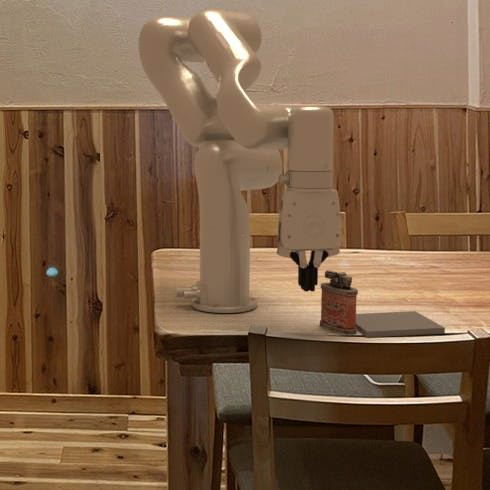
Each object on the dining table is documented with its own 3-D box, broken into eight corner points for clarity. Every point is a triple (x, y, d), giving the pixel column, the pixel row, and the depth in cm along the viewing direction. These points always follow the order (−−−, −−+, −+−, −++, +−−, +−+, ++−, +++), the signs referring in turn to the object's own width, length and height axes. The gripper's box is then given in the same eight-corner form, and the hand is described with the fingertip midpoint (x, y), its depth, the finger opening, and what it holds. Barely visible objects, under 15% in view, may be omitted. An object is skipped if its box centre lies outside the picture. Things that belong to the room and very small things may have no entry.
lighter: (361, 333, 136) (363, 275, 134) (346, 335, 134) (348, 277, 132) (329, 322, 142) (331, 267, 141) (315, 325, 140) (316, 269, 139)
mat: (366, 337, 133) (367, 331, 133) (342, 319, 144) (342, 314, 144) (444, 333, 136) (444, 327, 136) (414, 316, 147) (415, 311, 147)
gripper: (271, 183, 128) (270, 296, 130) (360, 182, 131) (357, 292, 133) (260, 180, 135) (259, 287, 138) (345, 179, 138) (342, 284, 141)
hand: (307, 289), depth 135 cm, fingers closed
